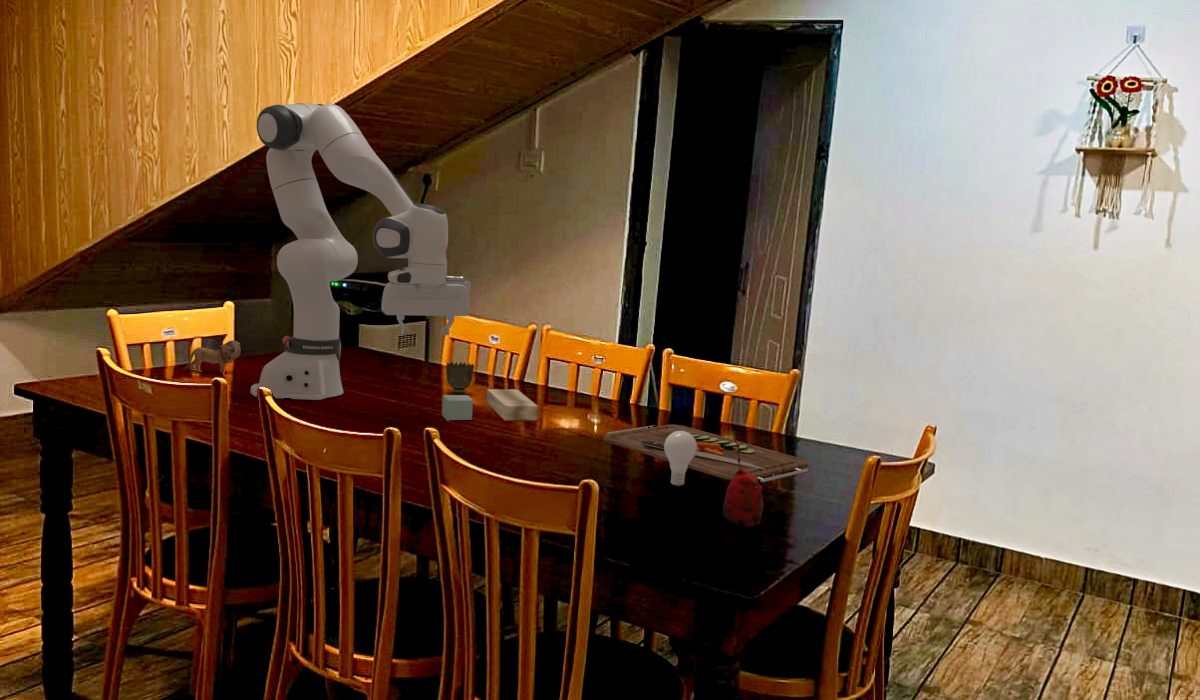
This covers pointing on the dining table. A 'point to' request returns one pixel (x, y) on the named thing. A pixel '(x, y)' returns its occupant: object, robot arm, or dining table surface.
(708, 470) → the chopping board
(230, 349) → the lion figurine
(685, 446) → the lightbulb
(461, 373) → the cup
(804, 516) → the dining table surface
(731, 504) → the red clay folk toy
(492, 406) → the board
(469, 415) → the block
